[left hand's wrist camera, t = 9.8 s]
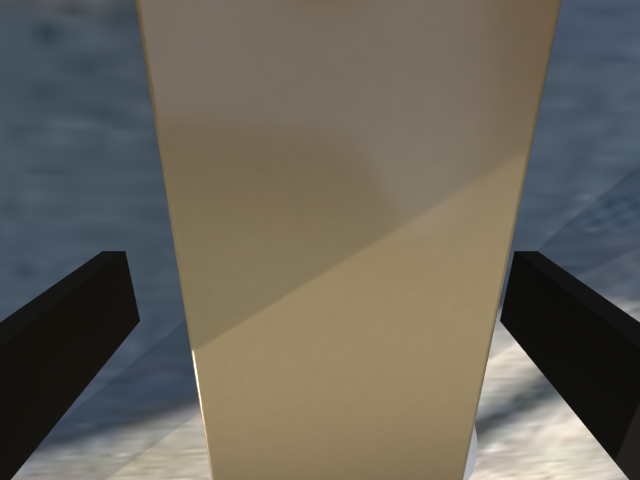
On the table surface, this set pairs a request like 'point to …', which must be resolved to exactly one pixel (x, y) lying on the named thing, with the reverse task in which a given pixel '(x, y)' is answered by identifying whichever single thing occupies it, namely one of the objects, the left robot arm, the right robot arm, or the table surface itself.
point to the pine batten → (343, 219)
